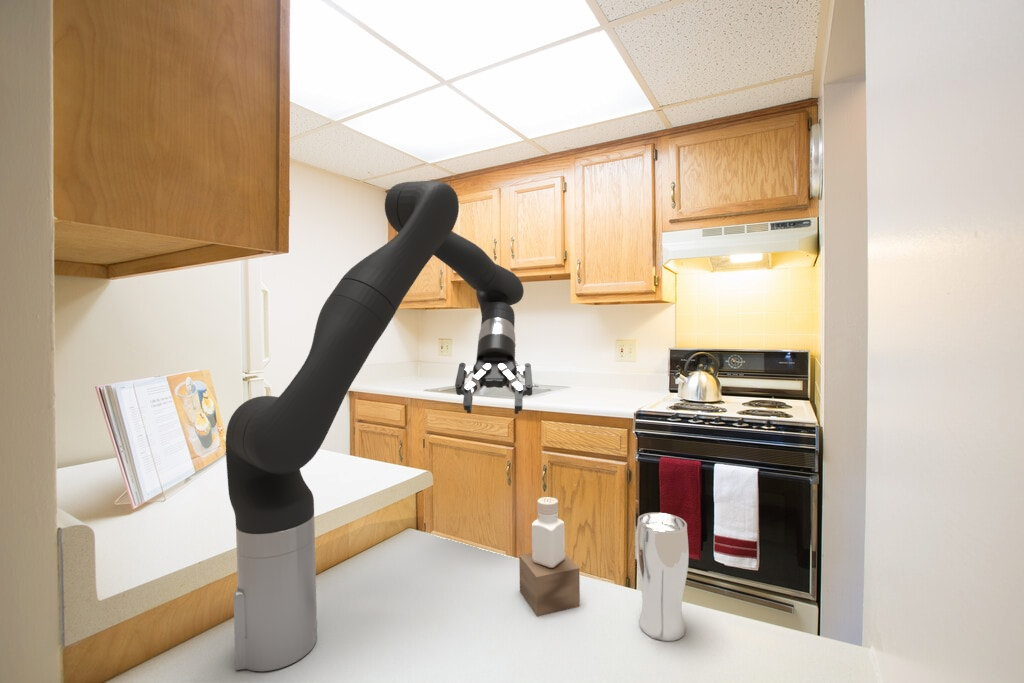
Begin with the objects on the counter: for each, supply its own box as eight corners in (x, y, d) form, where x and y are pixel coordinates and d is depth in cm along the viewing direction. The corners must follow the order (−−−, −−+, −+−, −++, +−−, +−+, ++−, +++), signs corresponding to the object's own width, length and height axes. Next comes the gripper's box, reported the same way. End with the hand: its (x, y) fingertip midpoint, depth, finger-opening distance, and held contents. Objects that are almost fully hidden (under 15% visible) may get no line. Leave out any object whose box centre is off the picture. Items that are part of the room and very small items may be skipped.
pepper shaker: (552, 570, 71) (551, 507, 70) (530, 562, 73) (529, 501, 73) (566, 559, 74) (565, 499, 74) (545, 552, 76) (544, 494, 76)
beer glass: (681, 613, 69) (681, 512, 69) (694, 645, 62) (695, 533, 62) (632, 611, 70) (632, 511, 70) (640, 642, 63) (640, 531, 63)
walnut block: (536, 617, 69) (536, 577, 69) (519, 592, 76) (519, 555, 75) (579, 607, 71) (579, 568, 71) (559, 583, 78) (559, 547, 78)
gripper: (459, 331, 93) (450, 398, 82) (532, 332, 93) (533, 398, 81) (463, 357, 98) (454, 423, 87) (531, 357, 98) (532, 423, 87)
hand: (492, 411), depth 84 cm, fingers open, 8 cm apart
